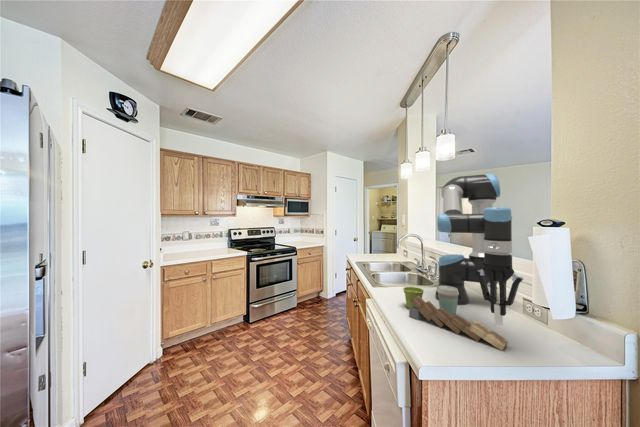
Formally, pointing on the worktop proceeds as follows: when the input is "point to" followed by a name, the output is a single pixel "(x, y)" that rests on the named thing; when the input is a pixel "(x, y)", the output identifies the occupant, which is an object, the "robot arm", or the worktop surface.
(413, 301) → the tile
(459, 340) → the worktop surface
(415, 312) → the block
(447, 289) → the coffee cup
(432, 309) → the tile
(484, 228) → the robot arm
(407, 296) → the plant pot
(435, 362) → the worktop surface
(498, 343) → the tile
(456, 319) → the tile
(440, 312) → the tile
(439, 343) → the worktop surface
